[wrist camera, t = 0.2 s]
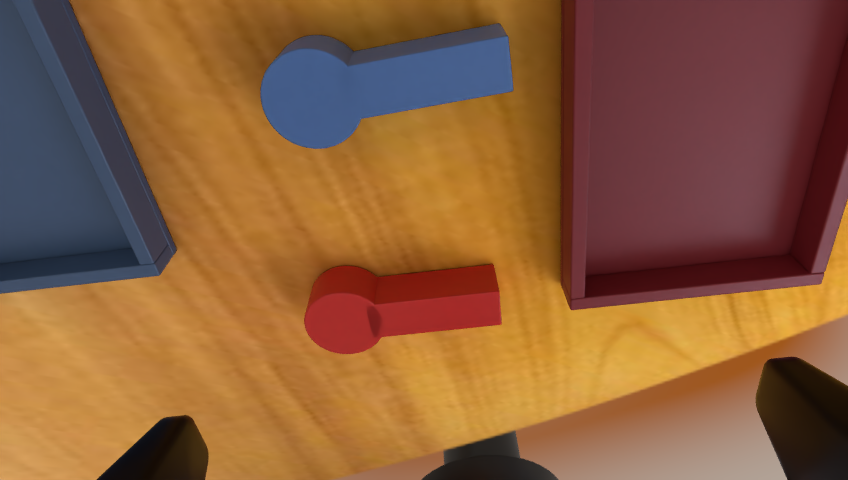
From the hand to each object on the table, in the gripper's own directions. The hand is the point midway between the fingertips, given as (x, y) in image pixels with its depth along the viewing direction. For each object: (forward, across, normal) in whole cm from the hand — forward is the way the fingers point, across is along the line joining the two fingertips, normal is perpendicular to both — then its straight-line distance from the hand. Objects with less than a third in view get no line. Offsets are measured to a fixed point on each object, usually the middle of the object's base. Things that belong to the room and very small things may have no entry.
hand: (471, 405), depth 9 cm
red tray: (+14, -10, +2) cm, 17 cm away
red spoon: (+14, +2, +8) cm, 16 cm away
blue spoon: (+14, +2, -2) cm, 14 cm away
